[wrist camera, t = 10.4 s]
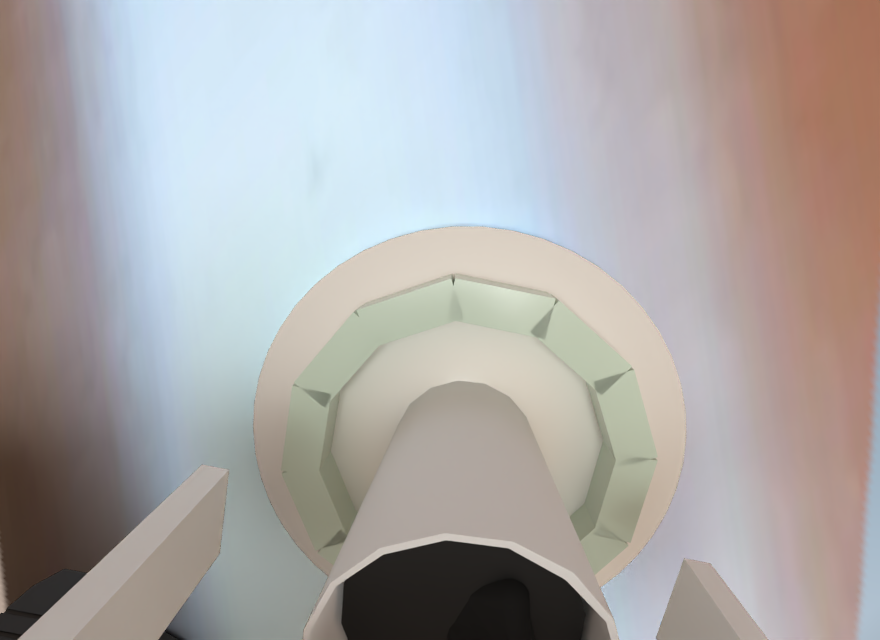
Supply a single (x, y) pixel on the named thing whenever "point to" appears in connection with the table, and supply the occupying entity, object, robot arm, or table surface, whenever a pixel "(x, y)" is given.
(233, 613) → the table surface
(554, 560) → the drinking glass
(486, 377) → the tray
